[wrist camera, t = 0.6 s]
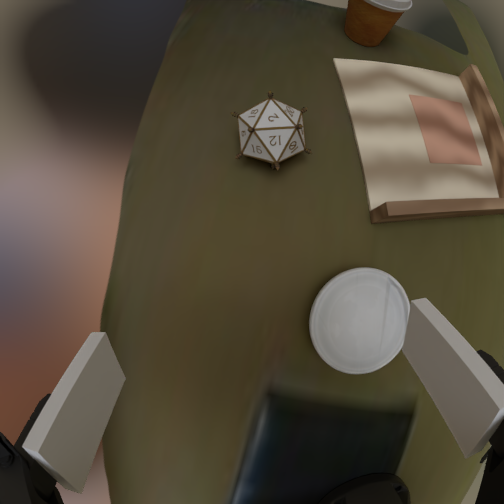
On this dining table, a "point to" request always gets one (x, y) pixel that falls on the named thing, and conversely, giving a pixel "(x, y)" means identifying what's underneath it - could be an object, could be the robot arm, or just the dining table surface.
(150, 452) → the dining table surface
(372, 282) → the ramekin
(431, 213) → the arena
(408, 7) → the disposable coffee cup
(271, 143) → the game die
